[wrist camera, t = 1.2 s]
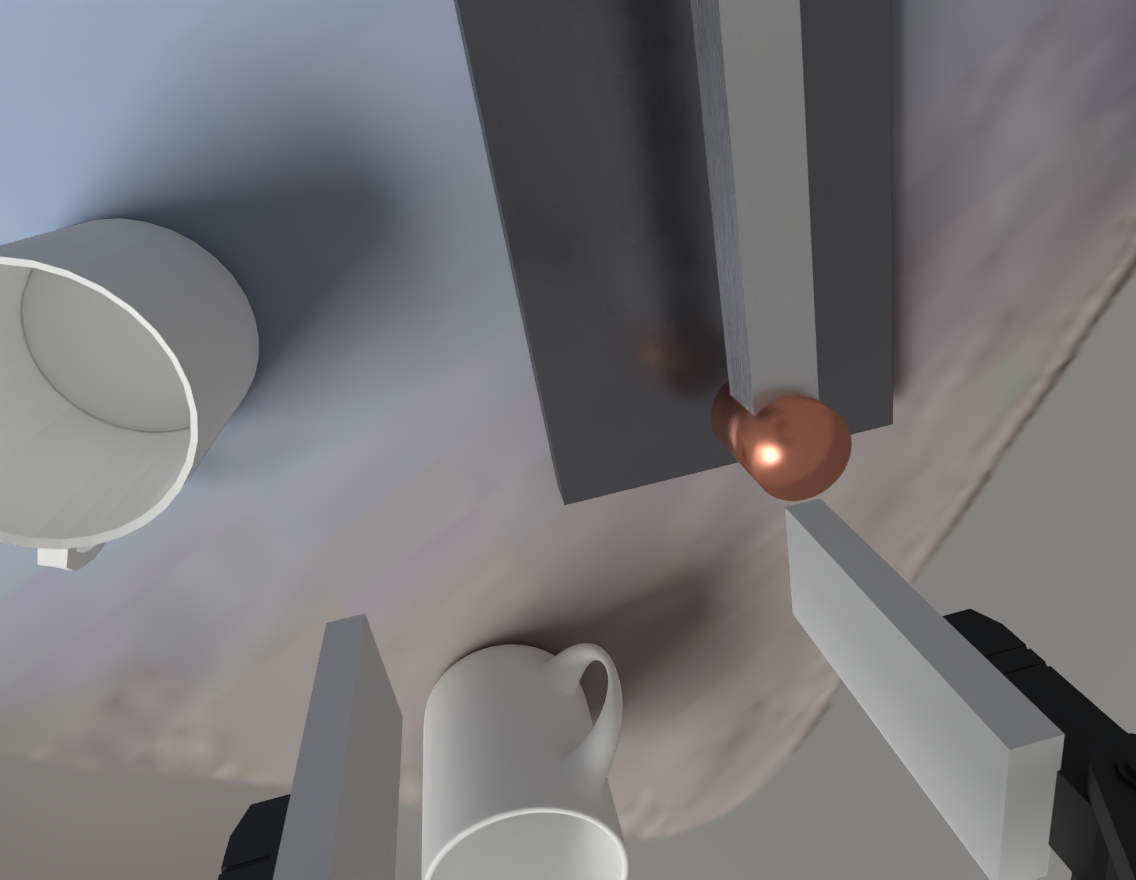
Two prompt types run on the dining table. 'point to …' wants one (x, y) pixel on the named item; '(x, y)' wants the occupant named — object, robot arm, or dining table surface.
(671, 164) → the press base
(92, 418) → the mug
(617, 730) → the mug
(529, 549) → the dining table surface
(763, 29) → the lever
